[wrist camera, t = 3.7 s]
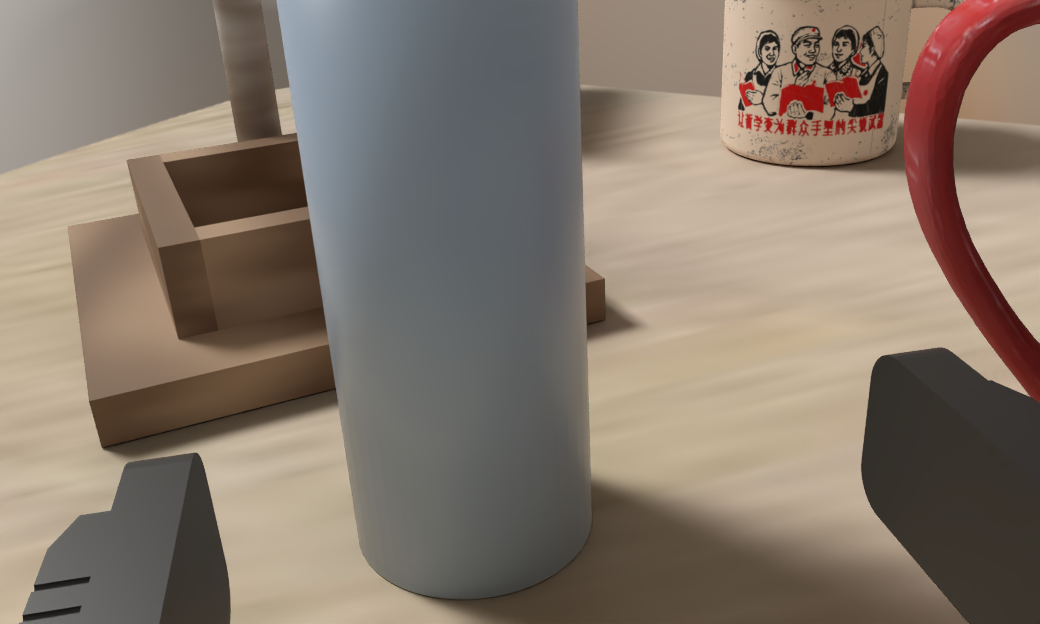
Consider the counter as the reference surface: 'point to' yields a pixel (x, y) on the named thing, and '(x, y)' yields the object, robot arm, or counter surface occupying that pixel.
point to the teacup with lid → (815, 78)
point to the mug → (929, 168)
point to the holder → (211, 270)
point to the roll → (451, 278)
